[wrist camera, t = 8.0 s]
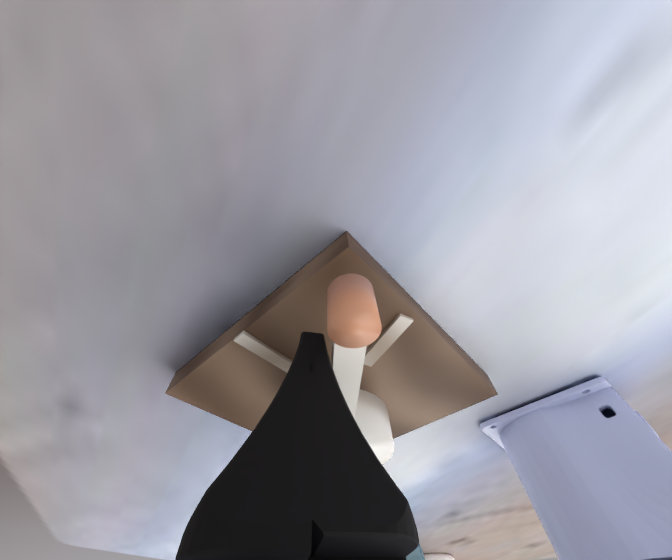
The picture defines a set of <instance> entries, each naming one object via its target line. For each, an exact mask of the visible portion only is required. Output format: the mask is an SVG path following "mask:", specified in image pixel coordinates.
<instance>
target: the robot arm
mask: <svg viewBox="0 0 672 560" xmlns="http://www.w3.org/2000/svg"><path fill="white" fill-rule="evenodd" d="M480 429H481V431H482V432H484V433H485V434H486V435H487V436H489V437H490V438H491V439H492V440H494V441H495V442H496V443H497V444H499V445H500V446H501V447H502V448H504V449H505V450H506V452H507V454H508V456H509V458H510V460H511V462H512V464H513V466H514V468H515V470H516V472H517V474H518V476H519V479H520V481H521V483H522V485H523V487H524V489H525V491H526V493H527V495H528V497H529V499H530V501H531V503H532V505H533V507H534V509H535V511H536V513H537V516H538V518H539V520H540V522H541V524H542V526H543V528H544V530H545V532H546V534H547V536H548V538H549V540H550V542H551V544H552V546H553V548H554V551H555V553H556V555H557V557H558V559H559V560H672V451H671V450H670V449H669V448H668V447H667V446H666V445H665V444H664V442H663V441H662V440H661V439H660V438H659V436H658V434H657V433H656V432H655V430H654V429H653V428H652V427H651V426H650V425H649V423H648V422H647V421H646V420H645V419H644V418H643V417H642V416H641V415H640V414H639V413H638V412H636V411H634V410H633V409H632V408H631V407H630V406H629V405H628V404H627V403H626V402H625V401H624V400H623V399H622V398H621V396H620V395H619V394H618V393H617V392H616V391H615V390H614V389H613V388H612V387H611V385H610V384H609V382H608V381H607V380H606V379H605V378H603V377H598V378H595V379H592V380H590V381H587V382H585V383H582V384H579V385H577V386H574V387H572V388H569V389H567V390H564V391H562V392H559V393H557V394H554V395H551V396H549V397H546V398H544V399H541V400H539V401H536V402H534V403H531V404H529V405H526V406H523V407H521V408H518V409H516V410H513V411H511V412H508V413H506V414H503V415H501V416H498V417H495V418H493V419H490V420H488V421H485V422H483V423H481V424H480ZM418 545H419V538H418V532H417V528H416V524H415V521H414V518H413V515H412V512H411V509H410V506H409V503H408V501H407V499H406V498H405V496H404V495H403V494H402V492H401V491H400V490H399V488H398V487H397V486H396V484H395V483H394V481H393V480H392V479H391V477H390V476H389V474H388V473H387V472H386V470H385V469H384V467H383V466H382V464H381V463H380V461H379V460H378V458H377V457H376V455H375V453H374V452H373V450H372V448H371V447H370V445H369V444H368V442H367V440H366V439H365V437H364V435H363V434H362V432H361V430H360V428H359V426H358V425H357V423H356V421H355V419H354V417H353V415H352V413H351V411H350V409H349V407H348V405H347V403H346V401H345V398H344V396H343V394H342V391H341V389H340V387H339V384H338V382H337V379H336V376H335V374H334V371H333V368H332V365H331V362H330V359H329V355H328V351H327V348H326V343H325V337H324V335H323V334H322V333H314V332H305V331H304V332H302V333H301V337H300V342H299V345H298V348H297V351H296V354H295V357H294V359H293V361H292V364H291V366H290V368H289V370H288V373H287V375H286V377H285V378H284V380H283V382H282V384H281V386H280V388H279V390H278V392H277V394H276V395H275V397H274V399H273V400H272V402H271V404H270V405H269V407H268V409H267V410H266V412H265V414H264V415H263V417H262V418H261V420H260V421H259V423H258V424H257V426H256V427H255V429H254V430H253V431H252V433H251V434H250V436H249V437H248V439H247V440H246V441H245V443H244V444H243V445H242V447H241V448H240V449H239V451H238V452H237V453H236V455H235V456H234V457H233V459H232V460H231V461H230V462H229V464H228V465H227V466H226V467H225V469H224V470H223V471H222V472H221V473H220V475H219V476H218V477H217V478H216V480H215V481H214V482H213V483H212V484H211V486H210V487H209V488H208V489H207V490H206V492H205V494H204V496H203V497H202V499H201V501H200V502H199V504H198V506H197V508H196V509H195V511H194V513H193V515H192V516H191V518H190V520H189V522H188V524H187V527H186V529H185V531H184V534H183V536H182V540H181V543H180V546H179V549H178V552H177V555H176V560H406V556H407V555H409V554H410V553H411V552H413V551H414V550H415V549H416V548H417V547H418Z"/></svg>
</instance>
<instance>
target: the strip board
mask: <svg viewBox="0 0 672 560" xmlns="http://www.w3.org/2000/svg"><path fill="white" fill-rule="evenodd" d="M345 274H358V275H361V276H364V277H365V278H367V279H368V280H369V281H370V282H371V284H372V286H373V290H374V294H375V299H376V303H377V308H378V312H379V317H380V321H381V325H382V330H381V333H380V335H379V337H378V338H377V339H376V340H375V341H374V342H373V343H371V344H369V345H367V348H366V354H365V360H364V365H363V371H362V377H361V383H360V389H361V390H364V391H367V392H370V393H372V394H374V395H376V396H377V397H379V398H380V399H381V400H382V401H383V402H384V403H385V405H386V407H387V410H388V415H389V421H390V426H391V431H392V437H393V439H394V438H396V437H398V436H401V435H403V434H406V433H408V432H410V431H413V430H415V429H417V428H420V427H422V426H424V425H427V424H429V423H431V422H434V421H436V420H439V419H441V418H443V417H446V416H448V415H450V414H453V413H455V412H457V411H460V410H462V409H465V408H467V407H469V406H472V405H474V404H476V403H479V402H481V401H483V400H486V399H488V398H491V397H493V396H495V395H498V394H497V392H496V390H495V388H494V386H493V385H492V383H491V381H490V379H489V377H488V375H487V374H486V373H485V372H484V371H483V370H482V369H481V368H480V367H479V366H478V365H477V364H476V363H475V362H474V361H473V360H472V359H471V358H470V357H469V356H468V355H467V354H466V353H465V352H464V351H463V350H462V349H461V347H460V346H459V345H458V344H457V343H456V342H455V341H454V340H453V339H452V338H451V337H450V336H449V335H448V334H447V333H446V332H445V331H444V330H443V329H442V328H441V327H440V326H439V325H438V324H437V323H436V322H435V321H434V320H433V319H432V318H431V317H430V316H429V315H428V314H427V313H426V312H425V311H424V310H423V309H422V308H421V307H420V305H419V304H418V303H417V302H416V301H415V300H414V299H413V298H412V297H411V296H410V295H409V294H408V293H407V292H406V291H405V290H404V289H403V288H402V287H401V286H400V285H399V284H398V283H397V282H396V281H395V280H394V279H393V278H392V277H391V276H390V275H389V274H388V273H387V272H386V271H385V270H384V269H383V268H382V267H381V266H380V265H379V263H378V262H377V261H376V260H375V259H374V258H373V257H372V256H371V255H370V254H369V253H368V252H367V251H366V250H365V249H364V248H363V247H362V246H361V245H360V244H359V243H358V242H357V241H356V240H355V239H354V238H353V237H352V236H351V235H350V234H349V233H348V232H347V231H346V232H345V233H344V234H343V235H341V236H340V237H339V238H338V239H337V240H335V241H334V242H333V243H332V244H330V245H329V246H328V247H327V248H326V249H324V250H323V251H322V252H321V253H320V254H318V255H317V256H316V257H315V258H314V259H312V260H311V261H310V262H309V263H308V264H306V265H305V266H304V267H303V268H302V269H300V270H299V271H298V272H297V273H295V274H294V275H293V276H292V277H291V278H289V279H288V280H287V281H286V282H285V283H283V284H282V285H281V286H280V287H279V288H277V289H276V290H275V291H274V292H273V293H271V294H270V295H269V296H268V297H267V298H265V299H264V300H263V301H262V302H260V303H259V304H258V305H257V306H256V307H254V308H253V309H252V310H251V311H250V312H248V313H247V314H246V315H245V316H244V317H242V318H241V319H240V320H239V321H238V322H236V323H235V324H234V325H233V326H232V327H230V328H229V329H228V330H227V331H226V332H224V333H223V334H222V335H221V336H219V337H218V338H217V339H216V340H215V341H213V342H212V343H211V344H210V345H209V346H207V347H206V348H205V349H204V350H203V351H201V352H200V353H199V354H198V355H197V356H195V357H194V358H193V359H192V360H191V361H189V362H188V363H187V364H186V365H184V366H183V367H182V368H181V369H180V370H178V371H177V372H176V373H175V375H174V377H173V379H172V381H171V383H170V385H169V387H168V389H167V391H166V394H168V395H170V396H173V397H175V398H177V399H179V400H182V401H184V402H186V403H189V404H191V405H193V406H196V407H198V408H200V409H202V410H205V411H207V412H209V413H212V414H214V415H216V416H218V417H221V418H223V419H225V420H228V421H230V422H232V423H234V424H237V425H239V426H241V427H244V428H246V429H248V430H251V431H253V430H254V429H255V427H256V426H257V424H258V423H259V421H260V420H261V418H262V417H263V415H264V414H265V412H266V410H267V409H268V407H269V405H270V404H271V402H272V400H273V399H274V397H275V395H276V394H277V392H278V390H279V388H280V386H281V384H282V382H283V380H284V378H285V377H286V375H287V373H288V370H289V368H290V366H291V364H292V361H293V359H294V357H295V354H296V351H297V348H298V345H299V342H300V337H301V333H302V332H304V331H305V332H314V333H322V334H323V335H324V337H325V343H326V348H327V351H328V355H329V359H330V362H331V349H332V340H331V339H330V338H329V336H328V332H327V290H328V287H329V285H330V283H331V282H332V281H333V280H334V279H336V278H337V277H339V276H341V275H345Z"/></svg>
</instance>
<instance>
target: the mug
mask: <svg viewBox="0 0 672 560" xmlns="http://www.w3.org/2000/svg"><path fill="white" fill-rule="evenodd" d="M423 555H424V558H425V560H455V559H454V558H453V557H452V556H451V555H449V554H444V553H429V554H423Z"/></svg>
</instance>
